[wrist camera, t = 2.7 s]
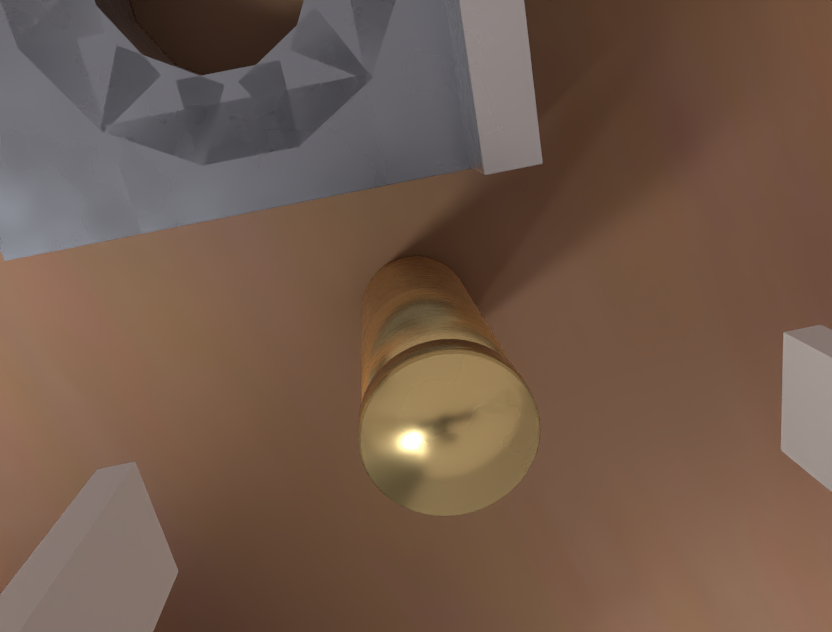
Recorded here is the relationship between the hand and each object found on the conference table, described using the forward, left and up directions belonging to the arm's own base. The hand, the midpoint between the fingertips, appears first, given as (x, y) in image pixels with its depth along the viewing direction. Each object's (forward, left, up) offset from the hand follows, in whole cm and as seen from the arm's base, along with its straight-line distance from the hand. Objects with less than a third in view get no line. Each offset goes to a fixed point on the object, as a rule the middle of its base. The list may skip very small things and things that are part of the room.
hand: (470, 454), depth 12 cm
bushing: (0, 0, -11) cm, 11 cm away
